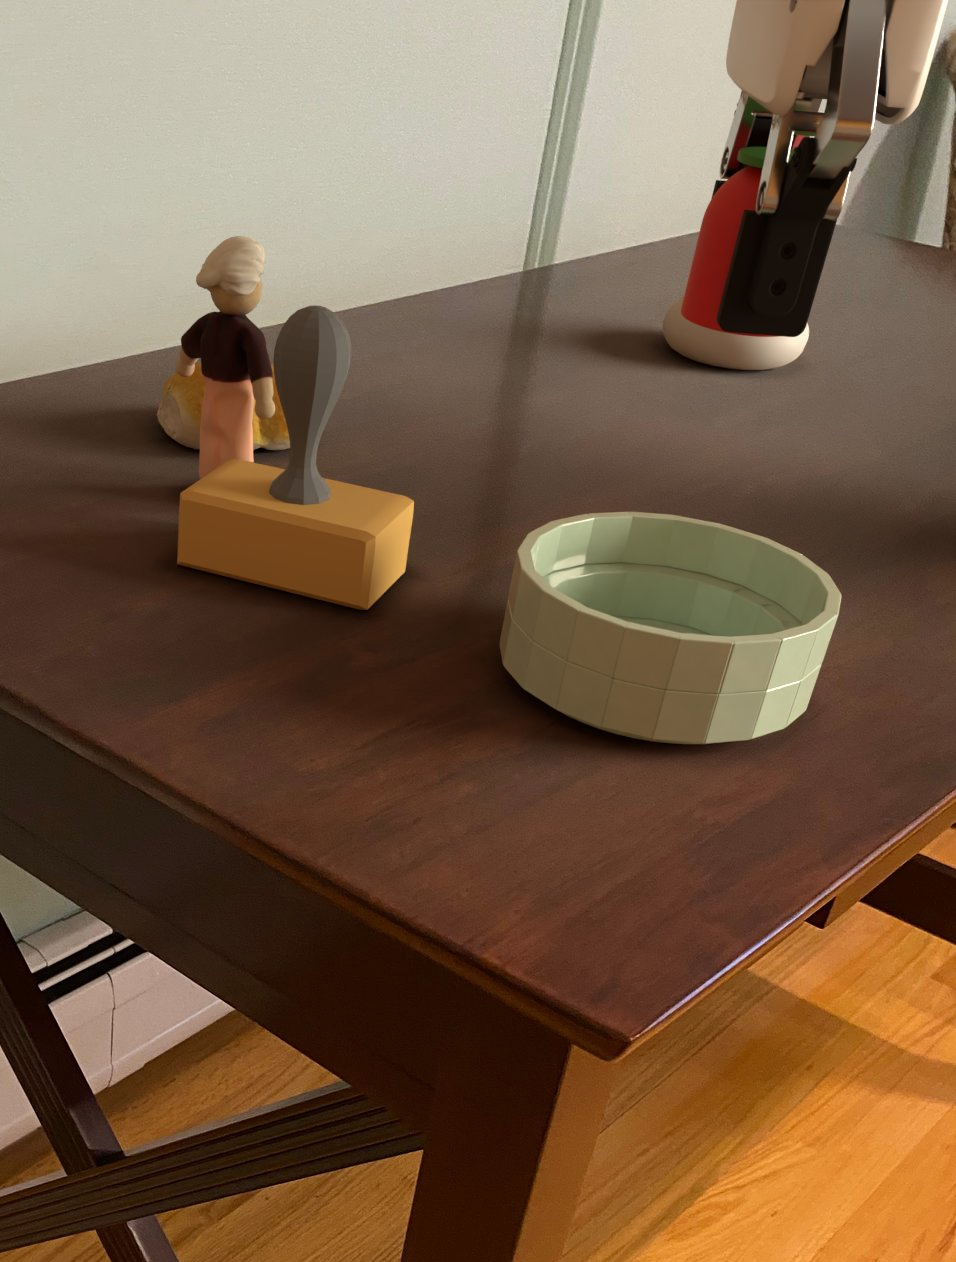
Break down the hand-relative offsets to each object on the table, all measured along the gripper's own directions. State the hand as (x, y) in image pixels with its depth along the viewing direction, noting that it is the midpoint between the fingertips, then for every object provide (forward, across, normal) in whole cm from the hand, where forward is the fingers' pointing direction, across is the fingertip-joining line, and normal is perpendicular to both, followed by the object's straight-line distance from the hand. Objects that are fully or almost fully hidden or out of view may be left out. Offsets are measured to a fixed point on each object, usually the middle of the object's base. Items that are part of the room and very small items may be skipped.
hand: (745, 307), depth 58 cm
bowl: (+15, -2, 0) cm, 15 cm away
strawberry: (0, 0, 0) cm, 0 cm away
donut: (+15, +51, -13) cm, 55 cm away
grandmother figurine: (+15, +16, +21) cm, 30 cm away
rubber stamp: (+15, +7, +16) cm, 23 cm away
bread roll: (+15, +26, +21) cm, 36 cm away
